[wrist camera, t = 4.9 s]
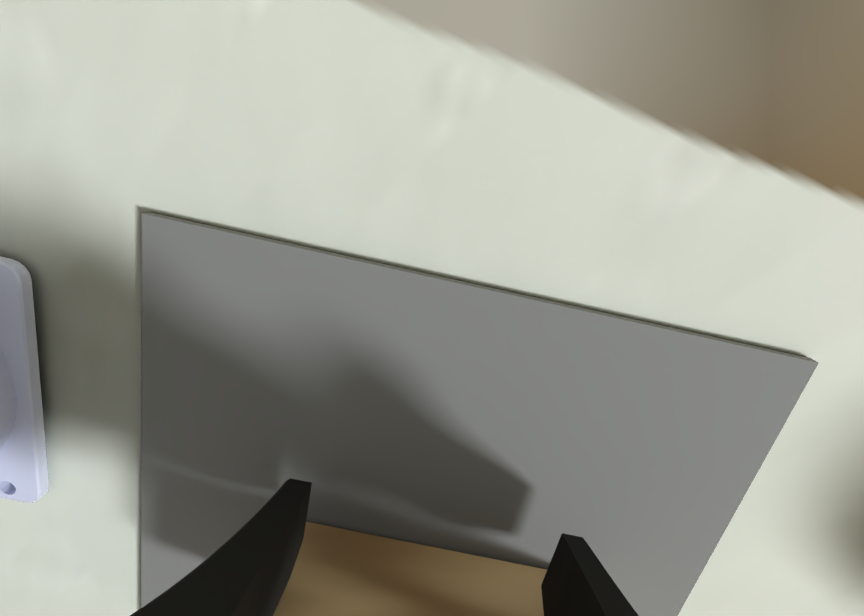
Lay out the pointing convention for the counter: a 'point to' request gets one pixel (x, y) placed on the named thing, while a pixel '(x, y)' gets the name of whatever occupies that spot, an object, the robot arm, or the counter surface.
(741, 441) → the mat
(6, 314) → the robot arm
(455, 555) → the oak T-block
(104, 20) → the counter surface
